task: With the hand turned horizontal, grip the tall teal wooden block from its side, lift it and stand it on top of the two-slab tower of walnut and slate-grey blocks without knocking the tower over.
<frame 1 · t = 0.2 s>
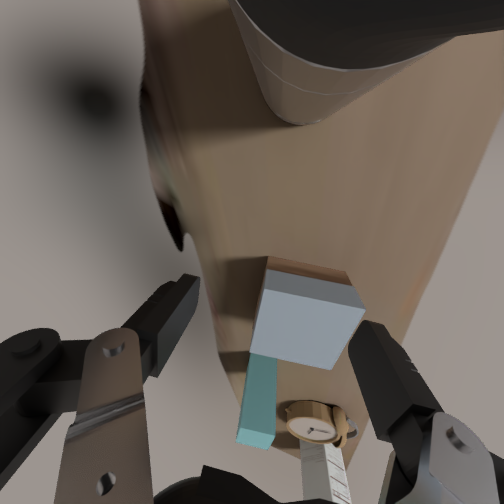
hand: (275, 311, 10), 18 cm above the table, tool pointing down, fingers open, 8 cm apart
teal block: (261, 361, 40), on the table
tower top: (298, 309, 28), point 4 cm above the table, touching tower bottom
supplement box: (319, 439, 52), on the table
alarm clock: (318, 412, 46), on the table
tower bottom: (296, 292, 31), on the table, touching tower top
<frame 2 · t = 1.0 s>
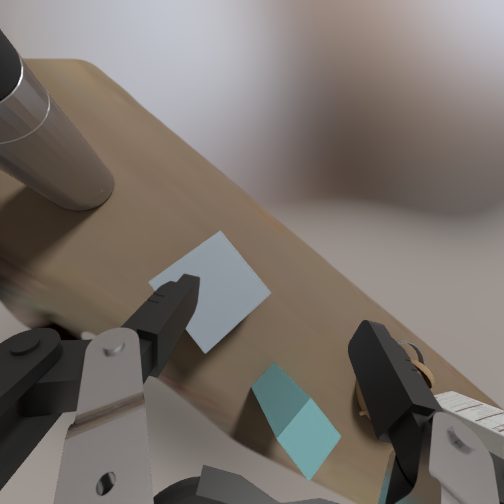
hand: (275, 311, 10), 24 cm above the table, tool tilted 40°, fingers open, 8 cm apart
teal block: (272, 386, 32), on the table
tower top: (212, 289, 30), point 3 cm above the table, touching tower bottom
supplement box: (440, 414, 37), on the table
alarm clock: (384, 378, 36), on the table
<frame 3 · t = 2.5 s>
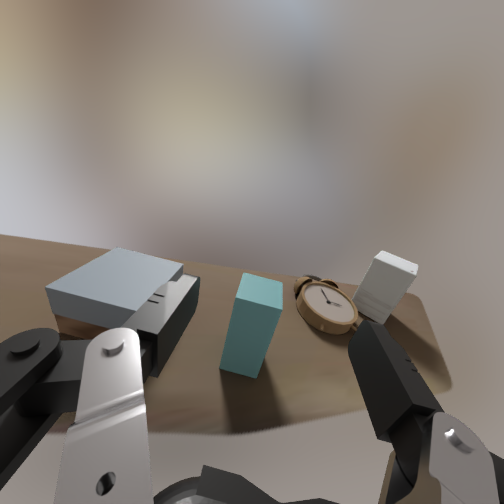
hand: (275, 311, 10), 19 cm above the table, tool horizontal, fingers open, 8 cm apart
teal block: (241, 356, 28), on the table
tower top: (128, 296, 29), point 4 cm above the table
supplement box: (367, 309, 46), on the table
alarm clock: (318, 307, 43), on the table
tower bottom: (129, 315, 31), on the table
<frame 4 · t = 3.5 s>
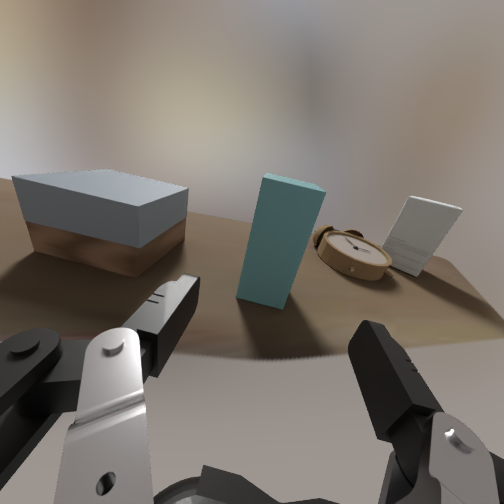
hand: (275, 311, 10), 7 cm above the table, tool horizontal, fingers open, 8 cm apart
teal block: (261, 289, 23), on the table
tower top: (122, 218, 24), point 3 cm above the table
supplement box: (396, 264, 40), on the table
alarm clock: (341, 259, 37), on the table
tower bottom: (123, 247, 26), on the table
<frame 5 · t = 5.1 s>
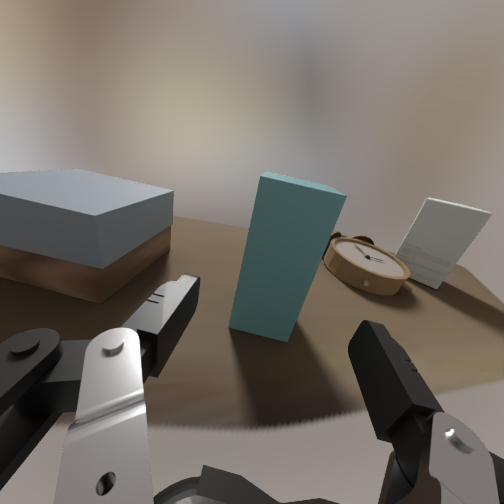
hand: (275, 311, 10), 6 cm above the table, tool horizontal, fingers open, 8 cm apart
teal block: (260, 313, 19), on the table
tower top: (91, 227, 19), point 4 cm above the table, touching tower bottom
supplement box: (410, 273, 36), on the table
alarm clock: (350, 269, 33), on the table
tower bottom: (94, 261, 21), on the table, touching tower top
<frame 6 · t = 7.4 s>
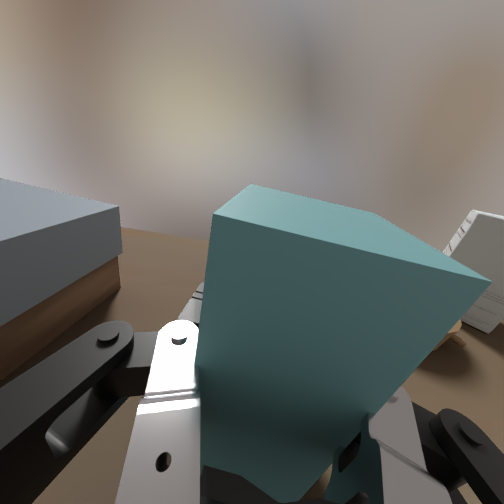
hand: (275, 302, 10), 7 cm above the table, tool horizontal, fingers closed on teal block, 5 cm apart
teal block: (244, 424, 11), on the table, touching gripper
supplement box: (447, 306, 28), on the table
when the fingers open (16 cm above the table, at t = 13.4 s): teal block drops 2 cm, resting on tower top.
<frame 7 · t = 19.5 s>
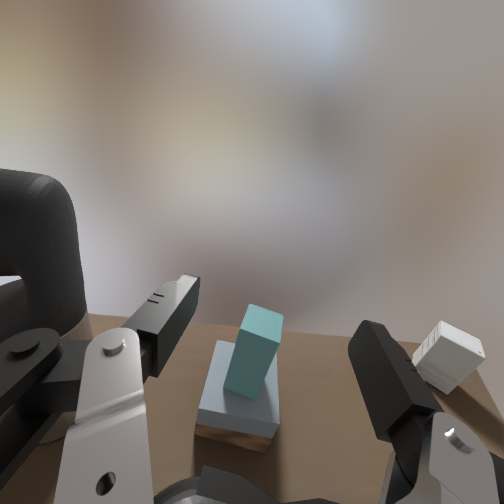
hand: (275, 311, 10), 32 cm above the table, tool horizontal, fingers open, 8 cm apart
teal block: (243, 377, 31), point 8 cm above the table, touching tower top
tower top: (239, 390, 33), point 3 cm above the table, touching teal block, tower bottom
supplement box: (427, 373, 49), on the table
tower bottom: (236, 404, 35), on the table, touching tower top
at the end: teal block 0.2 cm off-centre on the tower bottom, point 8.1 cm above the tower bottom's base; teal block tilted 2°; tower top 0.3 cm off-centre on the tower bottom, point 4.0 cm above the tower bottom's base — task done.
